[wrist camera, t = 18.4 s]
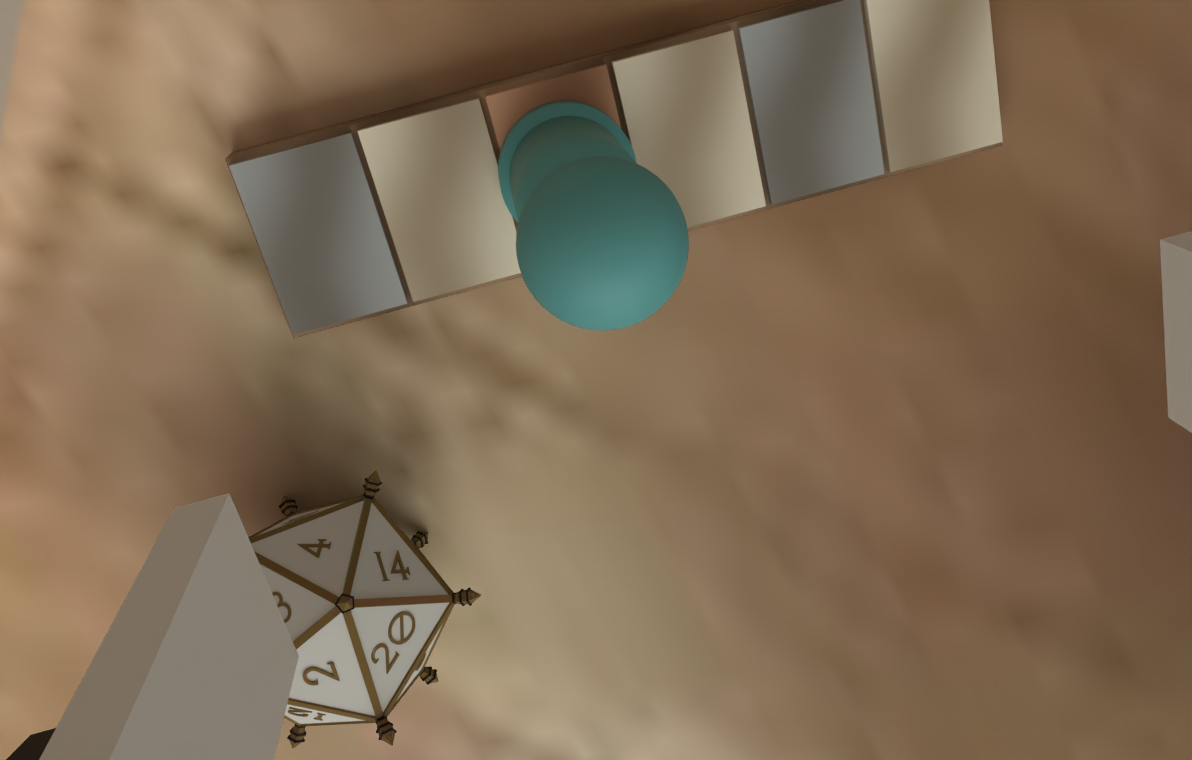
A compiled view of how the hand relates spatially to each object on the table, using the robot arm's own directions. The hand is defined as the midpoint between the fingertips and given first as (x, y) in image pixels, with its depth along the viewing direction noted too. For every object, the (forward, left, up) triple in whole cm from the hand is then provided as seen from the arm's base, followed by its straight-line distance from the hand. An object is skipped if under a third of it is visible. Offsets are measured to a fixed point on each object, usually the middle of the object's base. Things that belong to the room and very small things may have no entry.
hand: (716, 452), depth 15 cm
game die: (+11, +11, -22) cm, 27 cm away
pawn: (0, 0, -21) cm, 21 cm away
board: (-2, 0, -22) cm, 22 cm away
